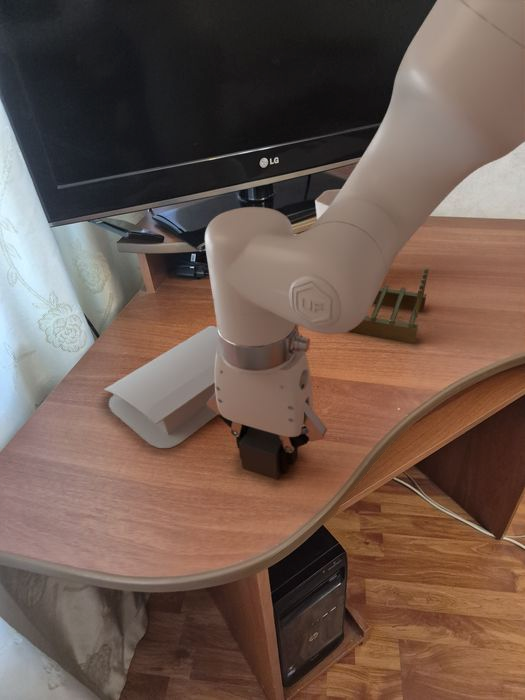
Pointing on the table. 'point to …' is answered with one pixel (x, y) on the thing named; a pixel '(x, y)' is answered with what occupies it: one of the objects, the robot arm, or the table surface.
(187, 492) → the table surface
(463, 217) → the table surface
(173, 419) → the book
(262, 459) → the box
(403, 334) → the rack
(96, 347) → the table surface
